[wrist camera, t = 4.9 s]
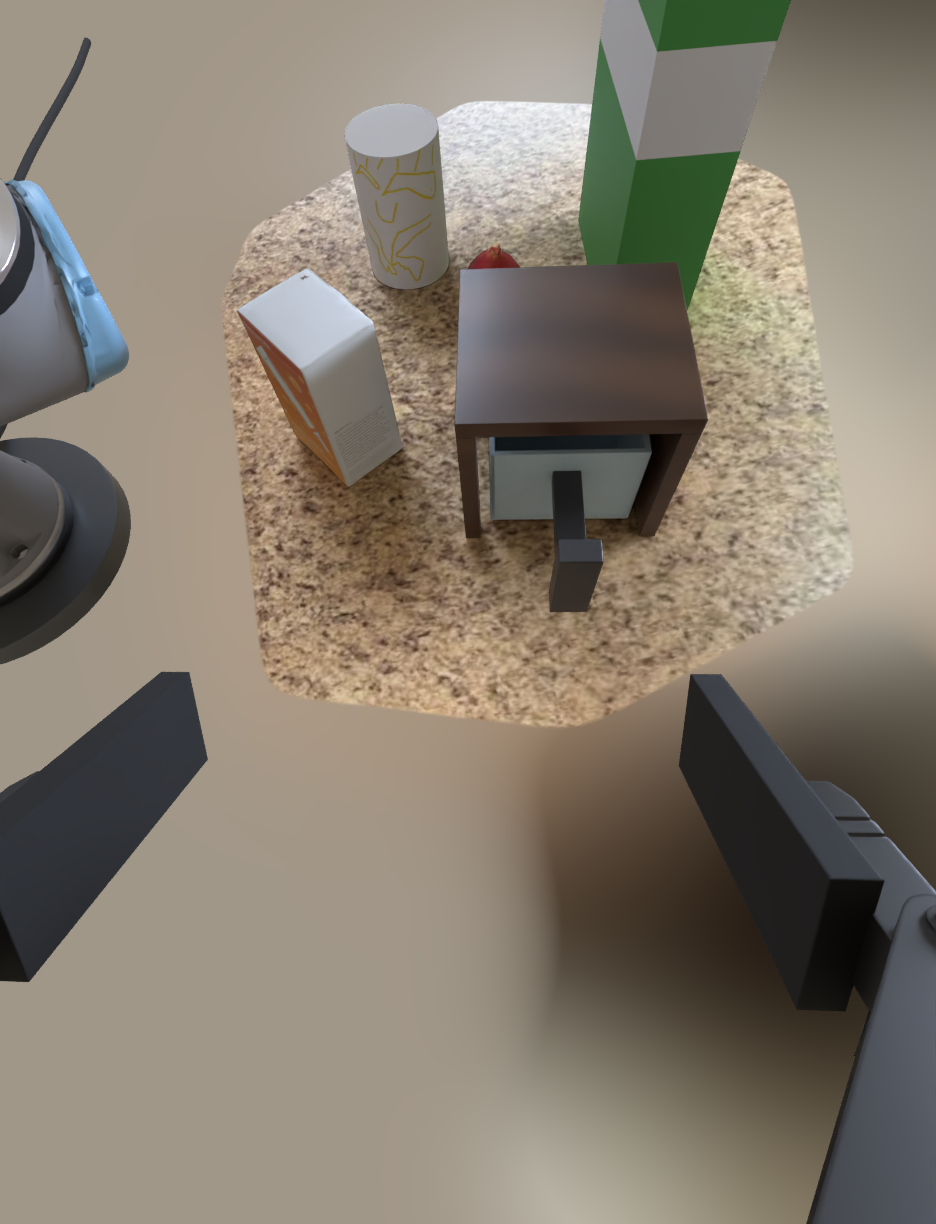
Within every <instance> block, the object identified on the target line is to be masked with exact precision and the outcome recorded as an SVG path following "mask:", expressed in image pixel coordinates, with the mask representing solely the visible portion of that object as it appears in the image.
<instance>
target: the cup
mask: <svg viewBox="0 0 936 1224" xmlns="http://www.w3.org/2000/svg"><path fill="white" fill-rule="evenodd" d="M345 141H346V145H347V150H348V155H349V159H350V165H351V169H352V174H353V179H354V184H355V189H356V193H357V198H358V203H359V208H360V212H361V217H362V222H363V227H364V232H365V236H366V241H367V246H368V251H369V255H370V260H371V265H372V270H373V273H374V275H375V277H376V278H377V279H378V280H379V281H380V282H381V283H383V284H385V285H387V286H389V287H392V288H396V289H417V288H421V287H424V286H427V285H430V284H432V283H434V282H435V281H437V280H438V279H439V278H441V277H442V276H443V274H444V273H445V272H446V270H447V268H448V265H449V254H448V242H447V230H446V217H445V205H444V192H443V180H442V168H441V155H440V143H439V131H438V122H437V120H436V118H435V116H434V115H433V114H432V113H430V112H429V111H428V110H426V109H424V108H421V107H419V106H415V105H409V104H387V105H381V106H377V107H374V108H371V109H368V110H366V111H364V112H362V113H360V114H358V115H357V116H356V117H354V118H353V119H352V120H351V121H350V122H349V124H348V125H347V127H346V130H345Z"/></svg>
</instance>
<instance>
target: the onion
mask: <svg viewBox="0 0 936 1224" xmlns="http://www.w3.org/2000/svg"><path fill="white" fill-rule="evenodd" d="M495 268H520V266H519V265H518V264H517V262H516V261H515V260H514V259H513V258H512V256H510V255H509V254H507V253H505V252H503V251H501V248H500V245H499V244H498V243H495V244H493V245H492V246H491V247H490V248H489V249H488V250H485V251H483V252H482V253H480V254H479V255H478V256H477V257H476V258H475V259H474V260H473V261H472V262H471V263H470V265H469V267H468V269H495Z"/></svg>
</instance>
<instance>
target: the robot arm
mask: <svg viewBox="0 0 936 1224" xmlns="http://www.w3.org/2000/svg"><path fill="white" fill-rule="evenodd" d="M90 46H91V41H90V40H89V39H88V38H84V40H83V43H82V46H81V49H80V51H79V54H78V56H77V59H76V61H75V64H74V66H73V68H72V70H71V72H70V74H69V76H68V78H67V80H66V82H65V83H64V85H63V87H62V89H61V90H60V92H59V94H58V96H57V98H56V99H55V101H54V103H53V104H52V106H51V108H50V110H49V111H48V113H47V115H46V116H45V118H44V120H43V122H42V123H41V126H40V127H39V129H38V131H37V132H36V134H35V136H34V138H33V139H32V141H31V143H30V145H29V147H28V149H27V151H26V153H25V155H24V157H23V159H22V161H21V163H20V166H19V168H18V170H17V172H16V175H15V177H14V179H13V180H10V181H7V182H5V183H4V182H3V181H2V180H1V179H0V438H1V436H2V434H3V433H4V431H5V429H6V426H7V424H8V423H10V422H12V421H15V420H17V419H20V418H22V417H25V416H27V415H29V414H32V413H34V412H37V411H39V410H42V409H44V408H46V407H48V406H51V405H54V404H56V403H59V402H61V401H63V400H66V399H68V398H71V397H73V396H75V395H78V394H80V393H83V392H89V391H91V390H92V389H93V388H94V387H95V385H96V384H98V383H100V382H102V381H104V380H106V379H108V378H110V377H112V376H114V375H116V374H118V373H119V372H121V371H122V370H123V369H124V368H125V367H126V365H127V363H128V360H129V352H128V347H127V345H126V343H125V341H124V338H123V336H122V334H121V332H120V330H119V329H118V327H117V325H116V323H115V321H114V319H113V317H112V315H111V314H110V312H109V310H108V308H107V306H106V304H105V302H104V301H103V299H102V297H101V295H100V293H99V291H98V290H97V288H96V286H95V285H94V283H93V281H92V278H91V277H90V275H89V273H88V271H87V269H86V267H85V266H84V263H83V261H82V259H81V258H80V256H79V254H78V252H77V250H76V248H75V247H74V245H73V243H72V241H71V239H70V237H69V236H68V234H67V232H66V230H65V228H64V227H63V225H62V223H61V221H60V220H59V218H58V216H57V214H56V212H55V210H54V209H53V207H52V205H51V203H50V202H49V200H48V198H47V196H46V195H45V193H44V192H43V190H42V189H41V188H40V187H39V186H38V185H37V184H35V183H33V182H31V181H28V180H25V178H26V175H27V173H28V171H29V169H30V166H31V164H32V162H33V160H34V158H35V156H36V154H37V152H38V150H39V148H40V146H41V144H42V143H43V141H44V139H45V137H46V135H47V133H48V131H49V129H50V128H51V126H52V124H53V122H54V121H55V119H56V117H57V116H58V114H59V112H60V110H61V108H62V107H63V105H64V103H65V101H66V100H67V98H68V96H69V94H70V92H71V90H72V88H73V87H74V85H75V83H76V81H77V79H78V77H79V75H80V73H81V70H82V68H83V66H84V63H85V60H86V57H87V54H88V52H89V48H90ZM24 180H25V181H24ZM72 526H73V508H72V504H71V500H70V498H69V496H68V494H67V492H66V491H65V489H64V488H63V487H62V486H61V485H60V484H59V483H58V482H57V481H56V480H55V479H54V478H52V477H51V476H50V475H49V474H48V473H47V472H46V471H45V470H43V469H42V468H40V467H39V466H37V465H35V464H33V463H31V462H29V461H26V460H23V459H21V458H18V457H15V456H11V455H9V454H7V453H5V452H3V451H1V450H0V607H2V606H4V605H6V604H8V603H10V602H12V601H13V600H15V599H17V598H18V597H20V596H22V595H23V594H24V593H26V592H27V591H29V590H30V589H31V588H32V587H34V586H35V585H36V584H37V583H38V582H39V581H40V580H41V579H43V578H44V577H45V575H46V574H47V573H48V572H49V571H50V570H51V569H52V567H53V566H54V565H55V564H56V562H57V561H58V559H59V558H60V556H61V555H62V553H63V551H64V549H65V547H66V545H67V543H68V540H69V538H70V535H71V531H72ZM207 760H208V759H207V754H206V749H205V744H204V740H203V735H202V730H201V726H200V721H199V716H198V712H197V707H196V702H195V697H194V693H193V688H192V683H191V679H190V674H189V672H161V673H160V674H158V675H157V676H156V677H155V678H153V679H152V680H151V681H150V682H148V683H147V684H146V685H145V686H144V687H142V688H141V689H140V690H139V691H137V692H136V693H135V694H134V695H133V696H131V698H129V699H128V700H126V701H125V702H124V703H123V704H122V705H120V706H119V707H118V708H117V709H116V710H114V711H113V712H112V713H111V714H109V715H108V716H107V717H106V718H104V719H103V720H102V721H101V722H99V723H98V724H97V725H96V726H95V727H94V728H92V729H91V730H90V731H89V732H87V733H86V734H85V735H84V736H82V737H81V738H80V739H79V740H78V741H76V742H75V743H74V744H73V745H71V746H70V747H69V748H68V749H67V750H65V751H64V752H63V753H62V754H60V755H59V756H58V757H57V758H56V759H54V760H53V761H52V762H50V764H48V765H47V766H46V767H44V768H43V769H42V770H41V771H37V772H35V773H33V774H31V775H29V776H27V777H26V778H24V779H22V780H20V781H18V782H16V783H14V784H12V785H11V786H9V787H8V788H6V789H5V790H4V791H3V792H1V793H0V981H16V982H29V981H30V980H31V979H32V978H33V976H34V975H35V974H36V972H37V971H38V970H39V969H40V967H41V966H42V965H43V964H44V963H45V961H46V960H47V959H48V958H49V956H50V955H51V954H52V953H53V951H54V950H55V949H56V948H57V946H58V945H59V944H60V943H61V941H62V940H63V939H64V938H65V936H66V935H67V934H68V933H69V932H70V930H71V929H72V928H73V927H74V925H75V924H76V923H77V922H78V920H79V919H80V918H81V917H82V915H83V914H84V913H85V911H86V910H87V909H88V908H89V907H90V905H91V904H92V903H93V902H94V900H95V899H96V898H97V897H98V895H99V894H100V893H101V892H102V890H103V889H104V888H105V887H106V885H107V884H108V883H109V881H111V879H112V878H113V877H114V876H115V874H116V873H117V872H118V871H119V869H120V868H121V867H122V865H123V864H124V863H125V862H126V861H127V859H128V858H129V857H130V855H131V854H132V853H133V852H134V851H135V849H136V848H137V847H138V846H139V844H140V843H141V842H142V841H143V839H144V838H145V837H146V836H147V834H148V833H149V832H150V830H151V829H152V828H153V827H154V826H155V824H156V823H157V822H158V820H159V819H160V818H161V817H162V816H163V815H164V813H165V812H166V811H167V809H168V808H169V807H170V806H171V805H172V803H173V802H174V801H175V800H176V798H177V797H178V796H179V794H180V793H181V792H182V791H183V790H184V788H185V787H186V786H187V785H188V783H189V782H190V781H191V780H192V778H193V777H194V776H195V775H196V773H197V772H198V771H199V770H200V768H201V767H202V766H203V765H204V763H205V762H206V761H207ZM679 767H680V769H681V771H682V773H683V775H684V777H685V779H686V781H687V783H688V785H689V788H690V790H691V792H692V794H693V796H694V798H695V800H696V802H697V804H698V806H699V808H700V810H701V812H702V815H703V817H704V819H705V821H706V823H707V825H708V827H709V829H710V831H711V833H712V835H713V837H714V839H715V841H716V843H717V846H718V847H719V850H720V852H721V854H722V856H723V858H724V860H725V862H726V864H727V866H728V868H729V870H730V872H731V875H732V877H733V879H734V881H735V883H736V885H737V887H738V889H739V891H740V893H741V895H742V897H743V899H744V901H745V903H746V905H747V907H748V910H749V912H750V914H751V916H752V918H753V920H754V922H755V924H756V926H757V928H758V930H759V932H760V935H761V936H762V939H763V941H764V943H765V945H766V947H767V949H768V951H769V953H770V955H771V957H772V959H773V961H774V963H775V966H776V968H777V969H778V972H779V974H780V976H781V978H782V980H783V982H784V984H785V986H786V988H787V990H788V992H789V995H790V996H791V998H792V1001H793V1003H794V1005H795V1007H796V1009H797V1010H819V1011H846V1007H847V1004H848V1001H849V997H850V994H851V991H852V988H853V985H854V986H855V988H856V990H857V991H858V993H859V995H860V996H861V998H862V1000H863V1001H864V1003H865V1005H866V1006H867V1008H868V1010H869V1011H868V1014H867V1017H866V1021H865V1024H864V1027H863V1030H862V1033H861V1036H860V1039H859V1042H858V1045H857V1049H856V1052H855V1055H854V1056H855V1058H854V1061H853V1065H852V1068H851V1072H850V1076H849V1079H848V1082H847V1085H846V1089H845V1092H844V1096H843V1100H842V1103H841V1106H840V1110H839V1113H838V1116H837V1120H836V1123H835V1127H834V1130H833V1134H832V1137H831V1141H830V1144H829V1148H828V1151H827V1155H826V1158H825V1161H824V1165H823V1168H822V1171H821V1175H820V1178H819V1182H818V1185H817V1189H816V1193H815V1195H814V1199H813V1202H812V1206H811V1209H810V1213H809V1216H808V1220H807V1223H806V1224H936V891H935V890H934V889H933V888H932V887H931V885H930V884H929V883H928V882H927V881H926V880H925V879H924V877H923V876H922V875H921V874H920V873H919V872H918V871H917V869H916V868H915V867H914V866H913V865H912V864H911V863H910V862H909V860H908V859H907V858H906V857H905V856H904V855H903V853H902V852H901V851H900V850H899V849H898V848H897V847H896V846H895V844H894V843H893V842H892V841H891V840H890V839H889V838H886V837H885V833H884V832H883V831H882V830H881V828H880V827H879V826H878V825H877V824H876V823H875V822H874V821H871V817H870V816H869V815H868V814H867V813H866V811H865V810H864V809H863V808H862V807H861V806H860V805H859V803H858V802H857V801H856V800H855V799H854V798H853V797H851V796H850V795H848V794H847V793H846V792H844V791H843V790H841V789H840V788H838V787H837V786H835V785H833V784H832V783H831V782H829V781H805V779H804V778H803V777H802V775H801V774H800V773H799V772H798V770H797V769H796V768H795V767H794V765H793V764H792V763H791V762H790V760H789V759H788V758H787V757H786V755H785V754H784V753H783V752H782V750H781V749H780V748H779V747H778V745H777V744H776V743H775V741H774V740H773V739H772V738H771V737H770V735H769V734H768V733H767V731H766V730H765V729H764V728H763V726H762V725H761V724H760V723H759V721H758V720H757V719H756V718H755V716H754V715H753V714H752V712H751V711H750V710H749V709H748V707H747V706H746V705H745V704H744V702H743V701H742V700H741V699H740V698H739V696H738V695H737V694H736V692H735V691H734V690H733V689H732V687H731V686H730V685H729V683H728V682H727V681H726V680H725V678H724V677H723V676H722V675H721V674H720V675H719V674H716V675H715V674H712V675H711V674H709V675H707V674H691V675H690V682H689V690H688V698H687V706H686V714H685V722H684V730H683V738H682V745H681V753H680V762H679Z"/></svg>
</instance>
